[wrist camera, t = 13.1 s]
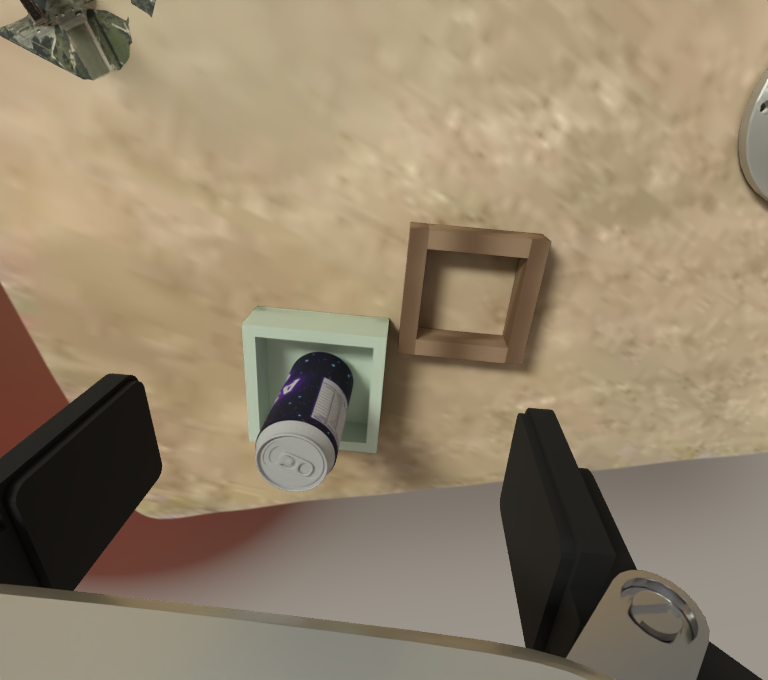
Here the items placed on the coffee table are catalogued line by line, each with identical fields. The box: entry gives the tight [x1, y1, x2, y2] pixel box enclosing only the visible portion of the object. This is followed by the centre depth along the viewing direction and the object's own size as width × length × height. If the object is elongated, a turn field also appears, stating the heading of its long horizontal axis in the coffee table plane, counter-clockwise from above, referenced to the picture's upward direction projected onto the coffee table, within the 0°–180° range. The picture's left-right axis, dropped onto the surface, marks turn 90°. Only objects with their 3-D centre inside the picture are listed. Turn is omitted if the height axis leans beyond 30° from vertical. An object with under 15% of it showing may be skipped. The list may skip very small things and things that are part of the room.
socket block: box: [398, 222, 551, 365], centre depth 36 cm, size 10×10×2 cm
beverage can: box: [256, 352, 353, 492], centre depth 35 cm, size 6×6×12 cm
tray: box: [242, 306, 389, 453], centre depth 40 cm, size 12×12×4 cm
